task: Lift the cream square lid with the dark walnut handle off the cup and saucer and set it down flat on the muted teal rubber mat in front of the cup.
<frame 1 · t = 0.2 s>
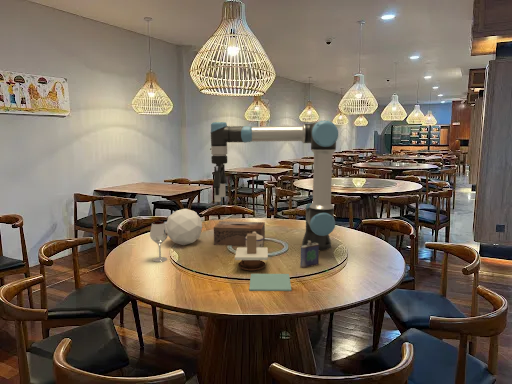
hand: (220, 199, 182), 28 cm above the table, tool pointing down, fingers open, 13 cm apart
ball: (184, 243, 205), on the table
flask: (309, 265, 170), on the table
wineglass: (160, 260, 179), on the table
cup and saucer: (252, 268, 168), on the table, touching lid
mat: (270, 282, 151), on the table
teacup with lid: (255, 254, 186), on the table
tissue box cover: (240, 242, 207), on the table
lid: (251, 254, 167), point 6 cm above the table, touching cup and saucer
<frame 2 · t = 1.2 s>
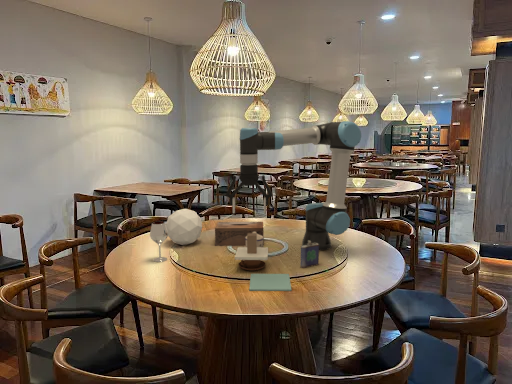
hand: (249, 212, 165), 25 cm above the table, tool pointing down, fingers open, 13 cm apart
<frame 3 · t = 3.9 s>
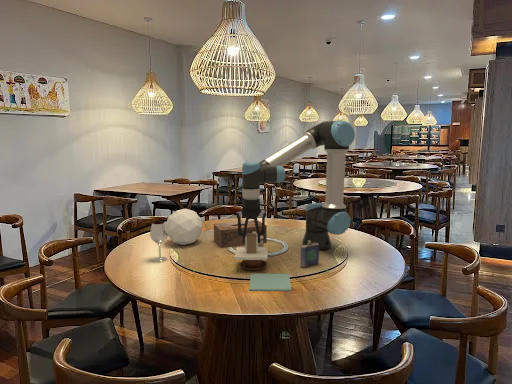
hand: (251, 249, 166), 8 cm above the table, tool pointing down, fingers closed on lid, 4 cm apart
cup and saucer: (253, 268, 168), on the table
lid: (251, 254, 167), point 6 cm above the table, touching gripper
when the fingers open (4 cm above the table, at t = 12.1 s): lid drops 1 cm, resting on mat.
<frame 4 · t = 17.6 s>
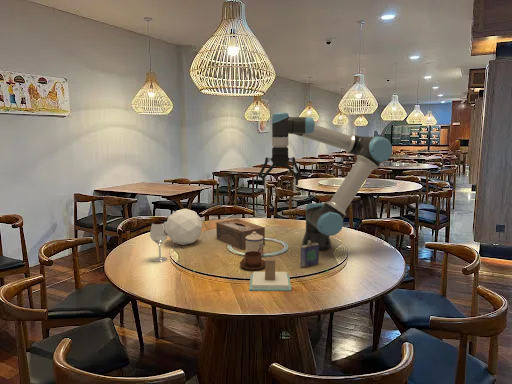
hand: (280, 192, 176), 32 cm above the table, tool pointing down, fingers open, 13 cm apart
lid: (270, 280, 151), point 1 cm above the table, touching mat
at the end: lid inside the target area on the mat (0.2 cm from its centre), point 0.6 cm above the mat's base; lid touching mat; cup and saucer moved 1.5 cm from its start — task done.
